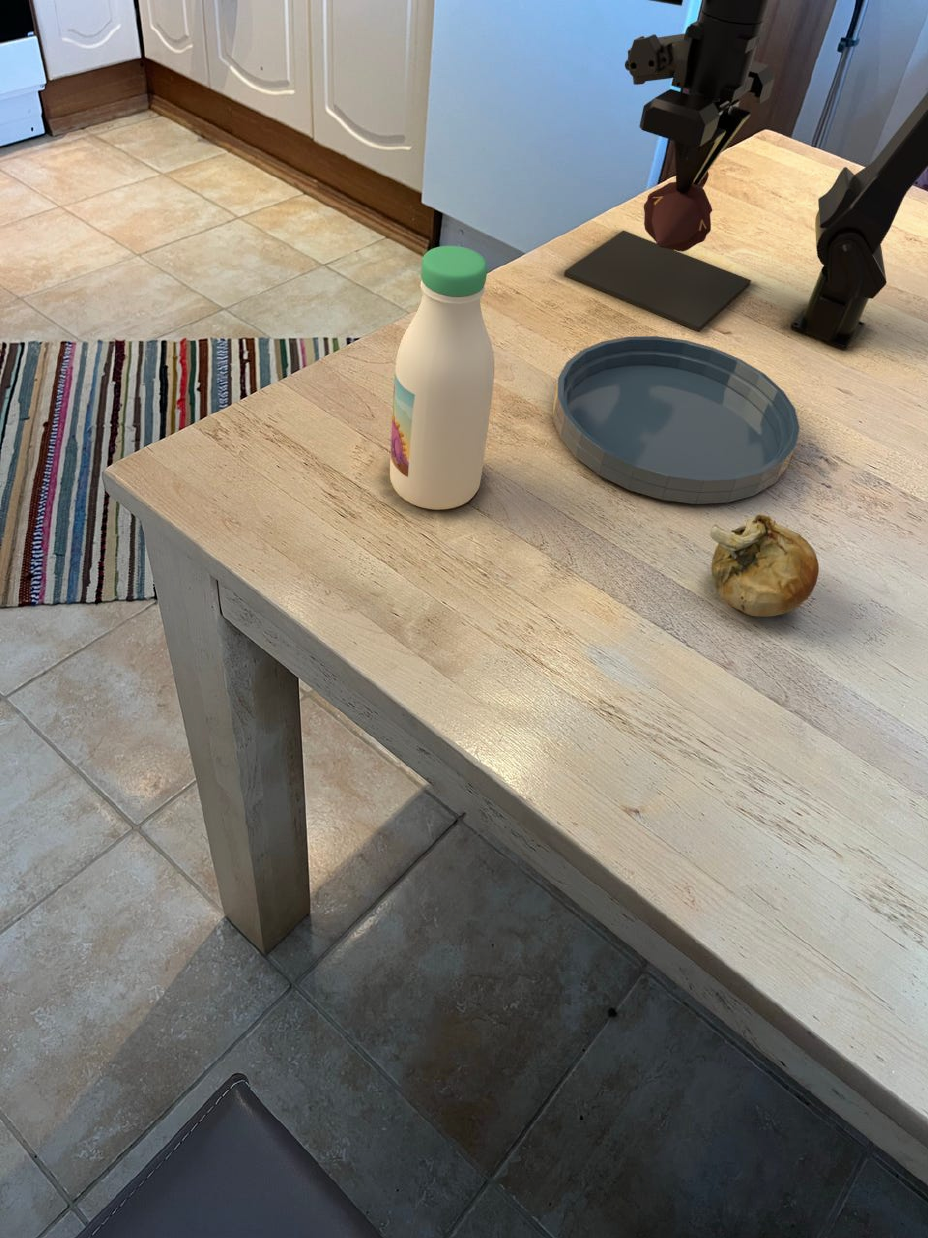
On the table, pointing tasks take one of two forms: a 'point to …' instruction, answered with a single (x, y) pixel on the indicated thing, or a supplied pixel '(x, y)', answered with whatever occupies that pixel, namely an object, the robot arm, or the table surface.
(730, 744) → the table surface
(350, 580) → the table surface
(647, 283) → the plate
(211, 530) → the table surface
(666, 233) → the dark red teardrop piece
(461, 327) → the milk bottle
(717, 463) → the bowl
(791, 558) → the onion
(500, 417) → the table surface
